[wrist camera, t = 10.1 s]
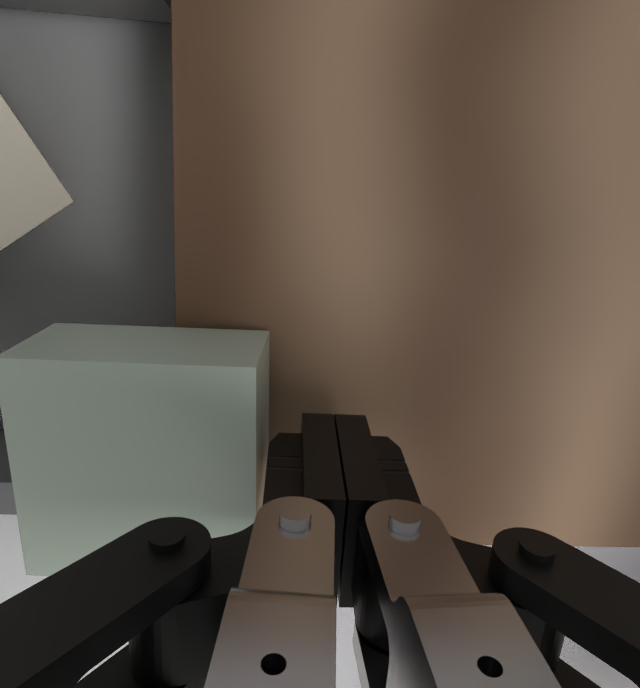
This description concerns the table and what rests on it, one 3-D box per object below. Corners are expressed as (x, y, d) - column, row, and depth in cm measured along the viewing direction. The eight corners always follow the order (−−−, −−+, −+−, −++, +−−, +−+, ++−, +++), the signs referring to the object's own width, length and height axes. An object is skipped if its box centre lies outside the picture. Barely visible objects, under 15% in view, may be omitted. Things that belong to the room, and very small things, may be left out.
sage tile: (269, 330, 13) (256, 367, 10) (268, 515, 14) (256, 584, 12) (55, 323, 13) (-8, 357, 10) (76, 507, 14) (26, 574, 12)
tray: (180, -21, 14) (154, -68, 11) (184, 462, 18) (166, 516, 15) (-174, -55, 13) (-298, -115, 10) (-85, 455, 18) (-156, 511, 15)
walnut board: (709, 32, 15) (850, -13, 11) (598, 473, 19) (674, 547, 16) (200, -18, 14) (170, -87, 10) (199, 463, 18) (178, 540, 15)
